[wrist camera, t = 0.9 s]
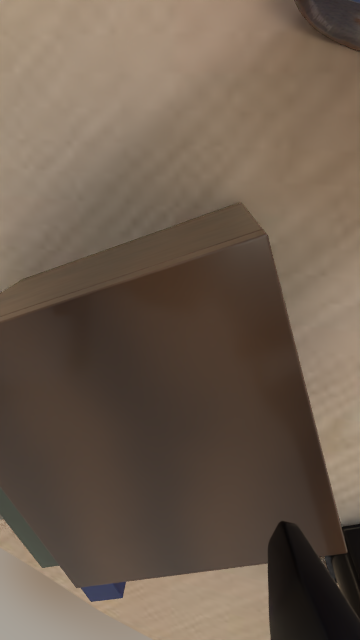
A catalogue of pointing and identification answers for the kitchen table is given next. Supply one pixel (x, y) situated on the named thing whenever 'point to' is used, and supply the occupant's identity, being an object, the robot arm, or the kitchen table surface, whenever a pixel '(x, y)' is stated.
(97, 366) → the cabinet
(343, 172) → the kitchen table surface
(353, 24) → the tin
